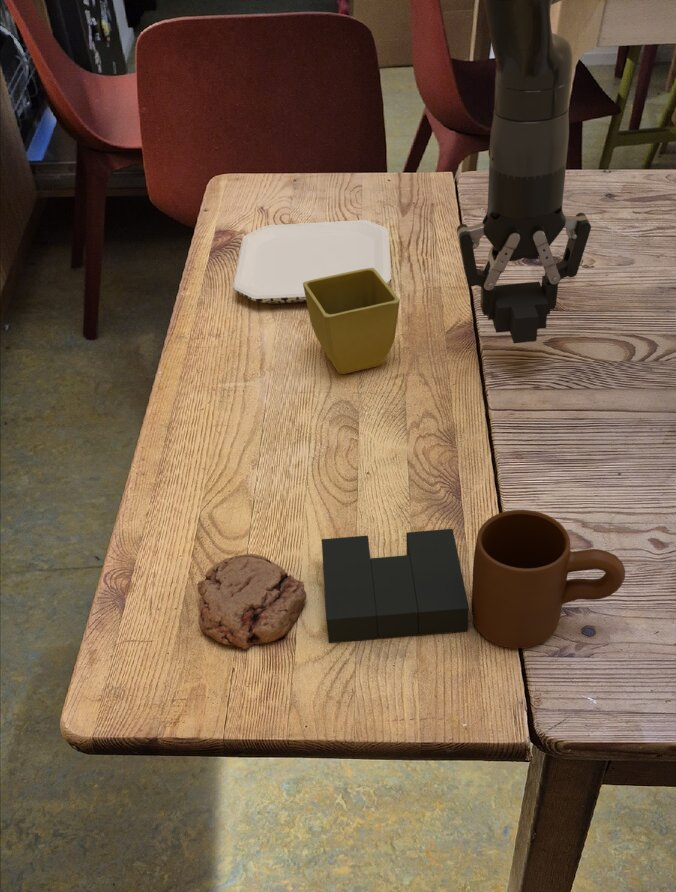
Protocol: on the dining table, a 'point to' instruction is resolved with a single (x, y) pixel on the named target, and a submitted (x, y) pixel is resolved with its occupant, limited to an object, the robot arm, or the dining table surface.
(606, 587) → the mug
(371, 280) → the flower pot
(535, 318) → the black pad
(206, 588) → the cookie
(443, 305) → the dining table surface
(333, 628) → the base pad
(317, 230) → the plate
